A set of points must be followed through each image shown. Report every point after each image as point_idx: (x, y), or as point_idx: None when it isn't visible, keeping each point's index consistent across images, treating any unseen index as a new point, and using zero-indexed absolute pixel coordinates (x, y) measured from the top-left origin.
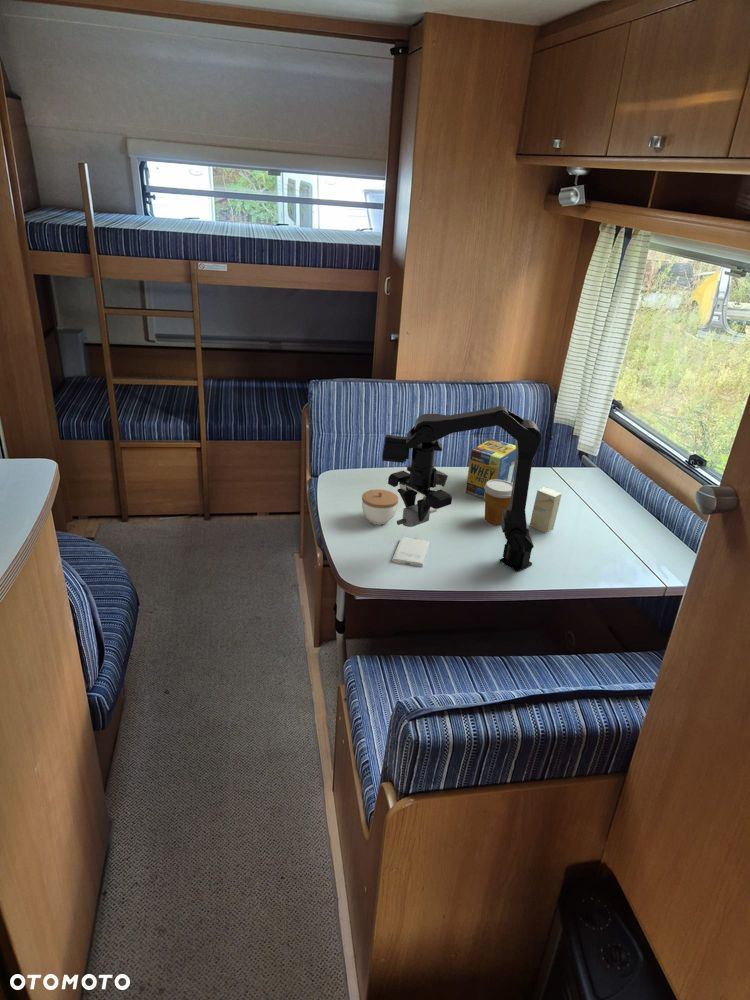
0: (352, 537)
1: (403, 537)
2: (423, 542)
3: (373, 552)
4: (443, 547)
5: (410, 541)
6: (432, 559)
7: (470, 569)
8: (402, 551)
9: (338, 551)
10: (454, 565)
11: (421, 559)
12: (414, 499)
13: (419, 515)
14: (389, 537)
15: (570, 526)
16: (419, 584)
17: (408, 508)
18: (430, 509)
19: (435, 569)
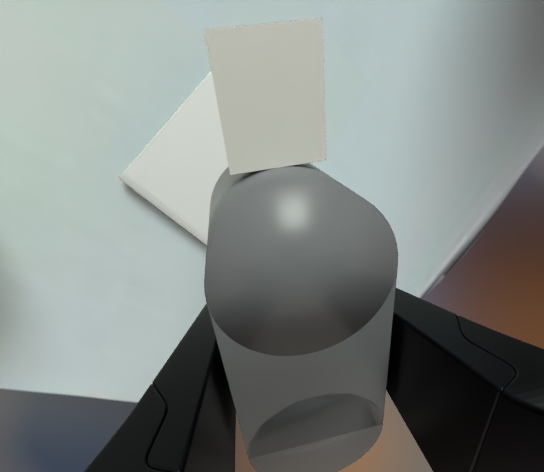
0: (48, 337)
1: (129, 173)
2: (213, 107)
3: (185, 314)
4: (272, 8)
5: (179, 164)
6: (329, 145)
7: (478, 39)
8: None
9: (140, 396)
10: (415, 86)
11: None
12: (203, 443)
13: None
14: (83, 210)
15: None
16: (411, 275)
17: (277, 442)
18: (299, 139)
19: (386, 181)
